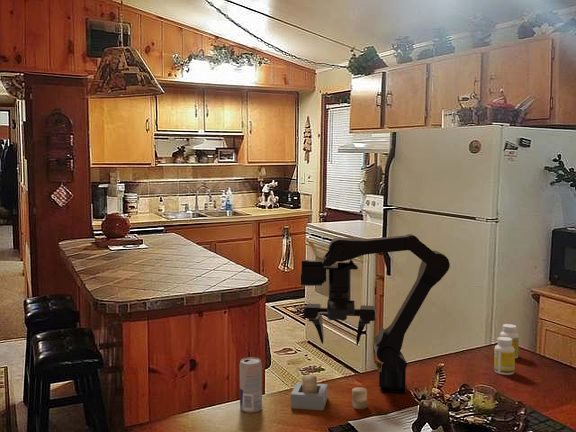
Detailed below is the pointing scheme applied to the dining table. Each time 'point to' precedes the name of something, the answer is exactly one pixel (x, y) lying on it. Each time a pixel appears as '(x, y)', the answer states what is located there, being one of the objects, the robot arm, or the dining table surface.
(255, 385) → the energy drink
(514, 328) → the supplement bottle
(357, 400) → the short pin
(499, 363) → the supplement bottle
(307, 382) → the beige peg
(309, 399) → the hole block
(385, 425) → the dining table surface
